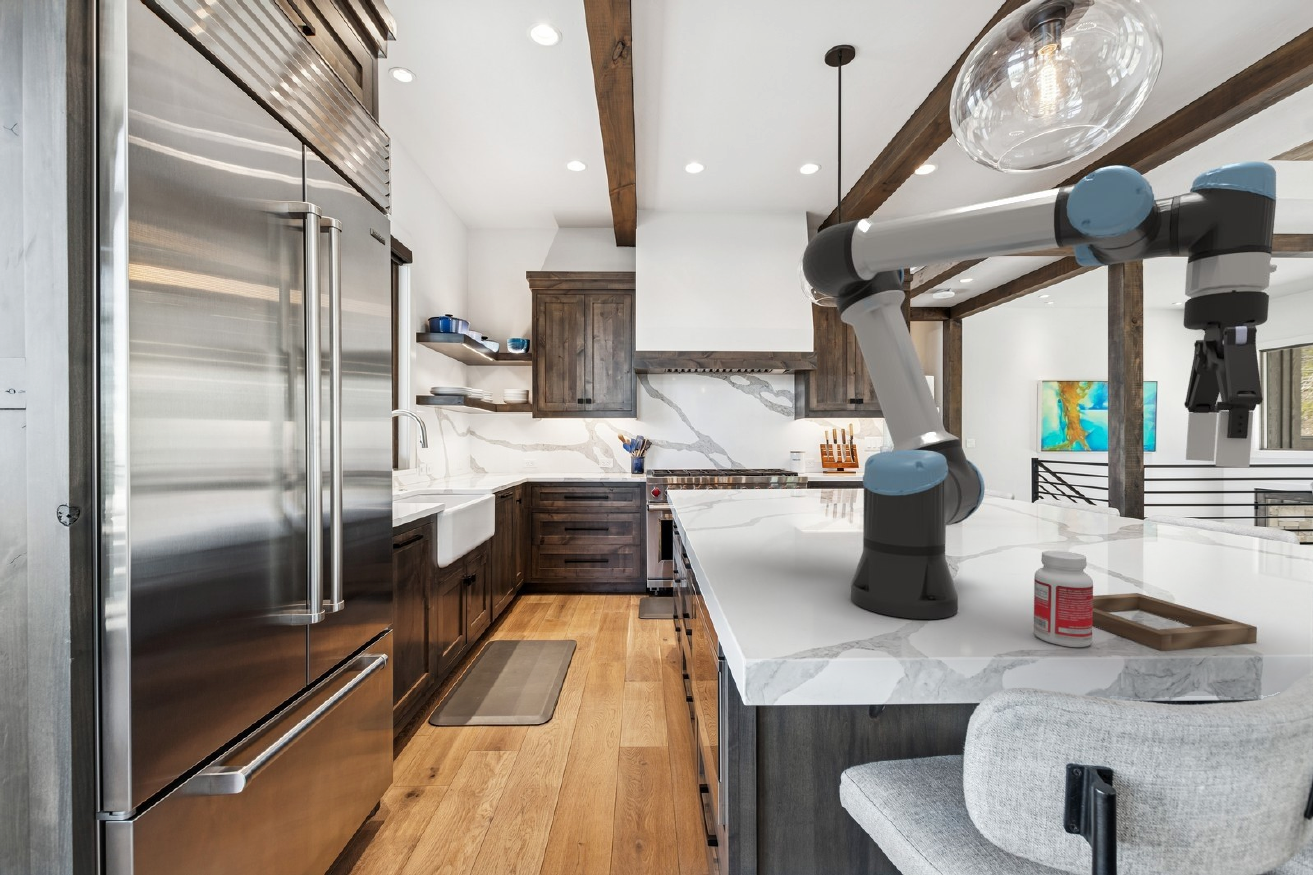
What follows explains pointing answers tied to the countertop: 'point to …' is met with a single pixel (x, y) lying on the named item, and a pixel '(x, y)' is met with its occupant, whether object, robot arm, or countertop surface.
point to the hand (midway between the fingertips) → (1214, 463)
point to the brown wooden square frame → (1202, 634)
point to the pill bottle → (1063, 600)
